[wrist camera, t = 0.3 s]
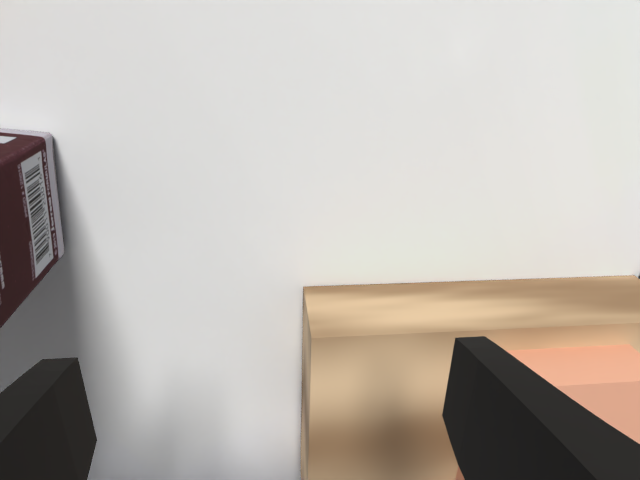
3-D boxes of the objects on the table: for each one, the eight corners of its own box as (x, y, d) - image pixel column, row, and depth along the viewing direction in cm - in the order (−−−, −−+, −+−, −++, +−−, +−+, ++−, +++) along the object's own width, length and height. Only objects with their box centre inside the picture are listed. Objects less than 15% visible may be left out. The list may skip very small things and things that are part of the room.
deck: (572, 449, 27) (614, 508, 24) (300, 471, 25) (306, 537, 22) (634, 275, 22) (696, 320, 19) (303, 287, 20) (311, 337, 17)
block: (571, 499, 23) (598, 541, 21) (448, 510, 22) (465, 554, 20) (629, 343, 19) (668, 379, 17) (482, 351, 18) (507, 389, 16)
